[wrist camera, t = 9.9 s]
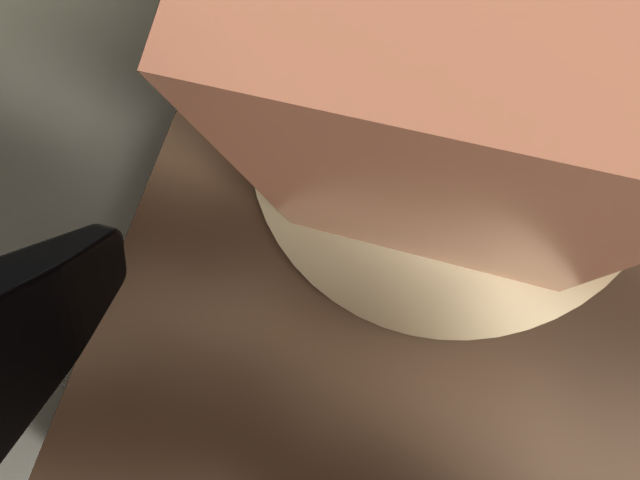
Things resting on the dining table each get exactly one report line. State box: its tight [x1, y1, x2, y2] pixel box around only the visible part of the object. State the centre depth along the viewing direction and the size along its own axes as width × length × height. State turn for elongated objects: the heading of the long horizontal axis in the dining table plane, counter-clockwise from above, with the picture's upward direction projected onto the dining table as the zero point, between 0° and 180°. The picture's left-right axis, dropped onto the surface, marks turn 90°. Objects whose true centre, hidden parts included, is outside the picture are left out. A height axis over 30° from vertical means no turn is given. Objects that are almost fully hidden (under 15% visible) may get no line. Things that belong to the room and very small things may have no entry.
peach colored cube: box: [137, 0, 640, 292], centre depth 10 cm, size 6×6×8 cm
